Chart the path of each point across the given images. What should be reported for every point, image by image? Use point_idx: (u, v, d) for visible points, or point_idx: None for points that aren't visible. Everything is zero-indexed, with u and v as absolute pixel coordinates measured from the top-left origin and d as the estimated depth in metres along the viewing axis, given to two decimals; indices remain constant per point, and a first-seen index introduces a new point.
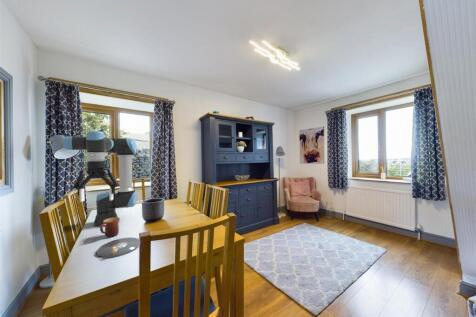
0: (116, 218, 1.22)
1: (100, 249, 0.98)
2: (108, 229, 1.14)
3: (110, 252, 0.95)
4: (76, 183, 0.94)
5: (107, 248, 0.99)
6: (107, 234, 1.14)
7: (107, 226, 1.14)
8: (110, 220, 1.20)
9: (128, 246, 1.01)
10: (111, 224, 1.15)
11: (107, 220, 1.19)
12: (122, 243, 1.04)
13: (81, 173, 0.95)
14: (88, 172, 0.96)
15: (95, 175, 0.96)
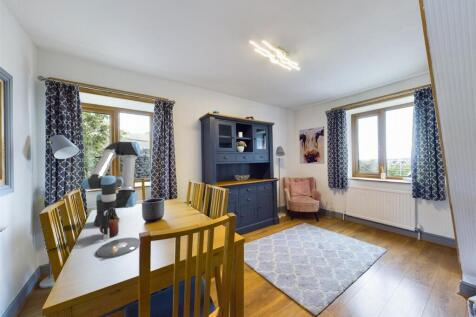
0: (116, 218, 1.21)
1: (100, 249, 0.98)
2: None
3: (110, 252, 0.95)
4: None
5: (107, 248, 0.99)
6: None
7: None
8: (110, 220, 1.20)
9: (128, 246, 1.01)
10: (111, 224, 1.14)
11: None
12: (122, 243, 1.04)
13: None
14: None
15: None
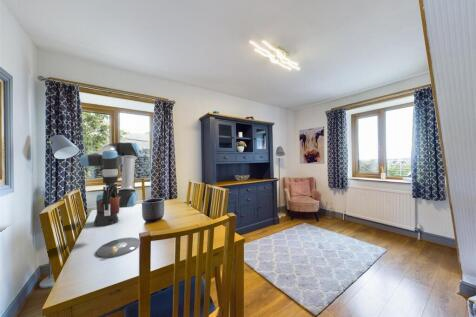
0: (117, 197, 1.16)
1: (100, 249, 0.98)
2: None
3: (110, 252, 0.95)
4: None
5: (107, 248, 0.99)
6: None
7: None
8: (111, 199, 1.15)
9: (128, 246, 1.01)
10: (111, 202, 1.09)
11: None
12: (122, 243, 1.04)
13: None
14: None
15: None
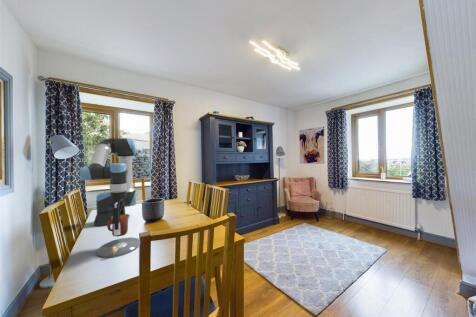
0: (125, 215, 1.07)
1: (100, 249, 0.98)
2: None
3: (110, 252, 0.95)
4: None
5: (107, 248, 0.99)
6: None
7: None
8: None
9: (128, 246, 1.01)
10: (120, 221, 0.99)
11: None
12: (122, 243, 1.04)
13: None
14: None
15: None
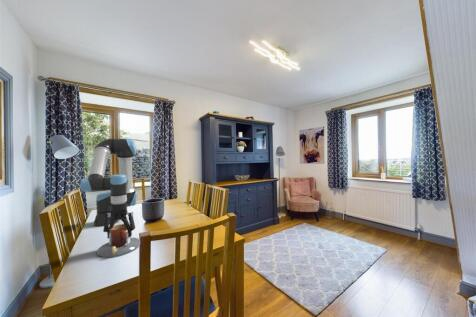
0: (115, 226, 1.04)
1: (100, 249, 0.98)
2: None
3: (110, 252, 0.95)
4: (105, 227, 1.00)
5: (107, 248, 0.99)
6: (123, 242, 1.00)
7: (123, 233, 1.00)
8: None
9: (128, 246, 1.01)
10: (126, 229, 1.03)
11: None
12: None
13: (106, 217, 1.00)
14: (112, 214, 1.00)
15: (118, 217, 1.01)
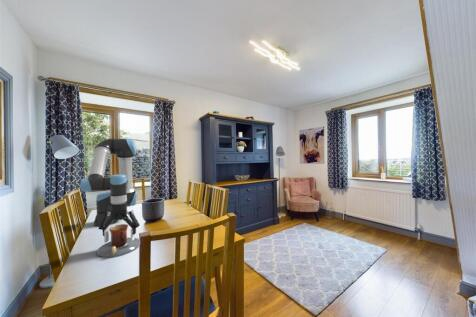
0: (115, 226, 1.04)
1: (100, 249, 0.98)
2: None
3: (110, 252, 0.95)
4: (101, 224, 1.00)
5: (107, 248, 0.99)
6: (123, 242, 1.00)
7: (123, 233, 1.00)
8: None
9: (128, 246, 1.01)
10: (126, 229, 1.03)
11: None
12: None
13: (105, 215, 1.00)
14: (112, 214, 1.00)
15: (118, 217, 1.01)
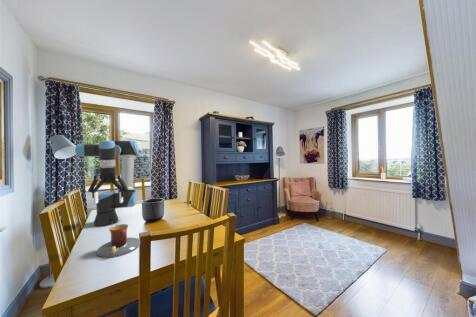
0: (115, 226, 1.04)
1: (100, 249, 0.98)
2: None
3: (110, 252, 0.95)
4: (91, 187, 1.06)
5: (107, 248, 0.99)
6: (123, 242, 1.00)
7: (123, 233, 1.00)
8: None
9: (128, 246, 1.01)
10: (126, 229, 1.03)
11: None
12: None
13: (95, 178, 1.06)
14: (101, 177, 1.06)
15: (107, 180, 1.07)
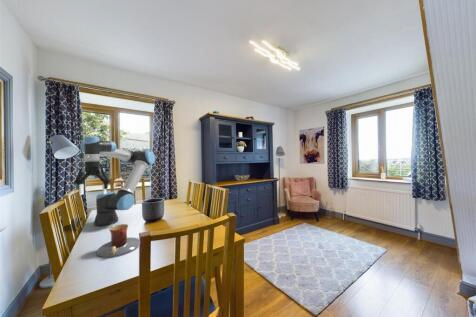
0: (115, 226, 1.04)
1: (100, 249, 0.98)
2: None
3: (110, 252, 0.95)
4: (76, 179, 1.15)
5: (107, 248, 0.99)
6: (123, 242, 1.00)
7: (123, 233, 1.00)
8: None
9: (128, 246, 1.01)
10: (126, 229, 1.03)
11: None
12: None
13: (80, 171, 1.15)
14: (86, 170, 1.15)
15: (91, 173, 1.16)
